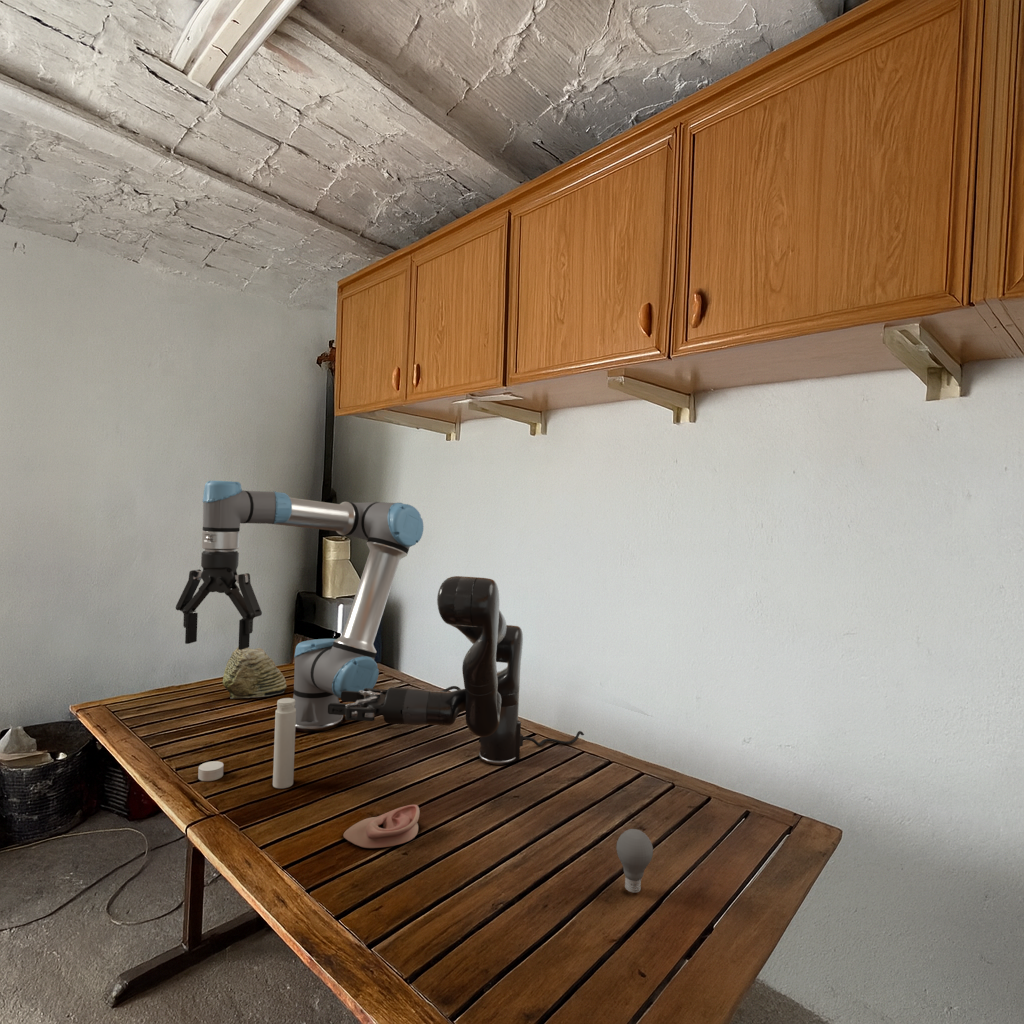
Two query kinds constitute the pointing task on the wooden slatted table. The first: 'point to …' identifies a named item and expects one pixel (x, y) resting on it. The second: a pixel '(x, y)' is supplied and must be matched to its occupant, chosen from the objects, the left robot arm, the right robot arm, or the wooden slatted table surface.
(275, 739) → the off-white cylindrical rod
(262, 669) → the fossil
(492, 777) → the wooden slatted table surface
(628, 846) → the light bulb
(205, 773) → the lid
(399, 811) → the anatomical model
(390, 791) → the wooden slatted table surface
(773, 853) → the wooden slatted table surface
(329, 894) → the wooden slatted table surface
